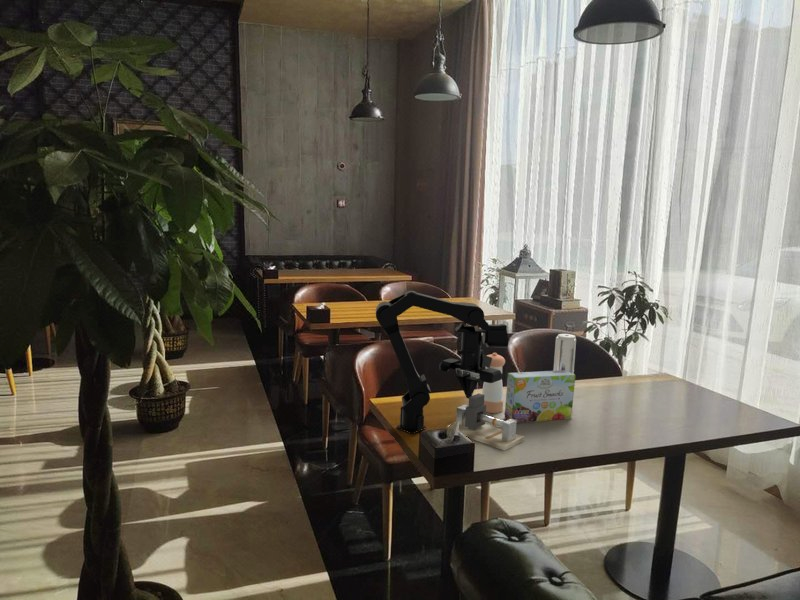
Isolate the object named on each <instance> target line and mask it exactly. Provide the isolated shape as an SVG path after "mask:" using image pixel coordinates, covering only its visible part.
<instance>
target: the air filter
mask: <svg viewBox="0 0 800 600" xmlns="http://www.w3.org/2000/svg"><path fill="white" fill-rule="evenodd" d="M576 345H577V338H576V335H575V334H570V333H558V335H557V336H555V345H554V357H553V358H554V359H553V370H552V371H560V370H567V371H569V372H571V373H573V374H575V373H574V372H575V362H576V361H575V360H576V348H577V347H576Z"/></svg>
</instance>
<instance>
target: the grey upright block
mask: <svg viewBox="0 0 800 600" xmlns="http://www.w3.org/2000/svg"><path fill="white" fill-rule="evenodd" d="M477 413H480V414H484V415H487V412H486V405H485V404H484V395H483V394H482V393H476V394H472V396H470V397H469V399H468V406H467V407H466V417H465V427H468V428H471V429H475V428H478V427H480V426H482V425H484V424H486V422H483V421H480V420H477Z"/></svg>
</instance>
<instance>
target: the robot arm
mask: <svg viewBox="0 0 800 600" xmlns="http://www.w3.org/2000/svg"><path fill="white" fill-rule="evenodd" d="M412 307H416V308H420V309H424V310H429V311H432V312H435V313H439V314H443V315H446V316H451V317H453V318H454V319H457V320H458V321H460V322H461V323H459V325H457V326H456V327H455V329H454V330H455V331H456V333H461V345H460V346H461V347H460V348H461V349H459V350H458V354H459V355H460V360H459V359H457V358H456V359H455V358H451V357H450V358H447V359H443V360H441V362H440V363H439V370H440V371H442V372H446V373H447V372H449V371H450V370H455V372H456V373H455V374H454V377H455V378H457V381H458V382H459V384H460V386H461V388H462V390H463V393H464V395H465V398H466V399H468V400H469V397H470V396H473V395H474V391H475V390H476V386H477V385H478V383H479V382H480V381H481V382H483V383H484V382H487V383H494V382H496V381H499V380H502V381H503V379H502V378H503V372H502V373H501V371H500V370H498V369H493V368H490V365H491V361H492V358H491V357H489V356H487V355H485V351H484V350H483V349H482V343H483V344H484V345H485V346H486V348H508V345H509V336H508V335H509V334H508V333H509V332H508V326H507V325H506V324H505V323H500V324H489V322H488V321H486V320H485V311H484V310H483V309H482V308H481V307H480V306H479V305H477V303H474V302H463V301H462V302H461V301H458V302H455V301H450V300H445V299H442V298H439V297H434V296H431V295H427V294H423V293H419V292H417V291H414V290H407V291H405V293H403V294H401V295H399V296H397V297H394V298H392V299H391V300H389V301H381V302H380V303H378V304H377V306H376V308H375V317H376V321H377V322H378V324H379V325H380V326H381V328H382V330H383V331H384V332H385V334H386V335H387V337H388V339H389V341H390V343H391V346H392V348H393V352H394V353H395V356H396V359H397V361H398V363H399V365H400V368H401V370H402V373H403V375H404V377H405V379H406V380H405V381H406V385H407V392H406V393H405V394H404V395H402V396H401V402H402V406H400V417H399V419H400V423H399V424H397V426H396V429H399V430H401V429H402V430H401V431H403V430H405V431H404V432H406V431H408V432H410V433H409V434H411V433H413V434H415V433H414V432H416V431H418V432H420V431H419V430H421V429H423V430H425V429H424V428H427V426H426V425H424V424H425V423H424V422H425V415H424V407H425V406H427V405H428V404H429V402H430V399H431V395H430V394H431V392H432V391H431V388H430V385H429V384H428V382H427V378H426V376H425V374H421V375H419V373H418V372H417V370H416V367H415V365H414V363H413V360H412V357H411V355H410V352H409V350H408V348H407V345H406V343H405V340H404V338H403V335H402V333H401V331H400V325H399V321H398V317H399V316H400V315H403V314H404V313H405V312H407V310H410V308H412ZM462 322H463V323H465V324H467V325H464V324H463V323H462ZM475 327H478V328H475ZM486 367H488V369H486ZM481 368H482V369H481ZM483 368H485V369H483ZM421 431H422V430H421ZM408 432H407V433H408ZM416 433H417V432H416Z"/></svg>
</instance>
